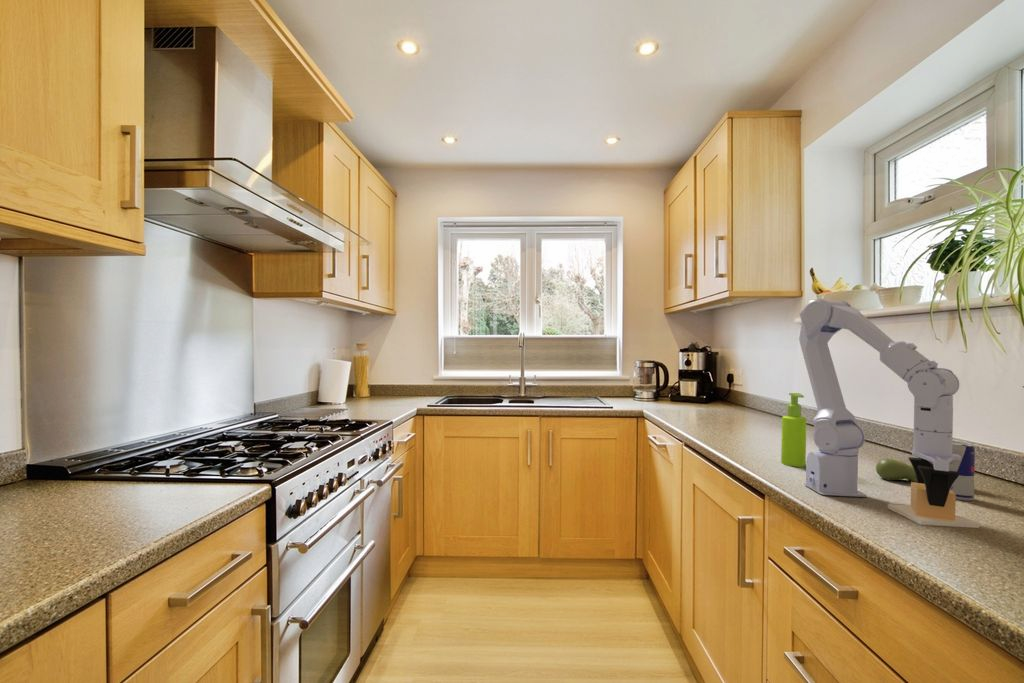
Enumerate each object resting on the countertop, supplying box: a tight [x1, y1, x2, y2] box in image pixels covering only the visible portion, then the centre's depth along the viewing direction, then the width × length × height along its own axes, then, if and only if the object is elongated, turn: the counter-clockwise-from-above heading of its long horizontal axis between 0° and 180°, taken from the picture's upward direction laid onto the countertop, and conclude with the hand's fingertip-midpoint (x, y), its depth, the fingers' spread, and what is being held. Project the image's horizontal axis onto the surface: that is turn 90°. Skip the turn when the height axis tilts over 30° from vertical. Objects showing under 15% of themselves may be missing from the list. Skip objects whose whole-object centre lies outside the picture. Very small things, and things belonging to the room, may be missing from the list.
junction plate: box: [887, 503, 980, 529], centre depth 93 cm, size 10×9×4 cm
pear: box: [875, 458, 917, 483], centre depth 119 cm, size 6×5×10 cm
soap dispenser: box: [780, 392, 807, 468], centre depth 134 cm, size 6×7×20 cm
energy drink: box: [949, 441, 976, 502], centre depth 106 cm, size 5×5×12 cm
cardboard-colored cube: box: [910, 481, 957, 521], centre depth 93 cm, size 6×6×5 cm
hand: (931, 500), depth 93 cm, fingers open, 7 cm apart
